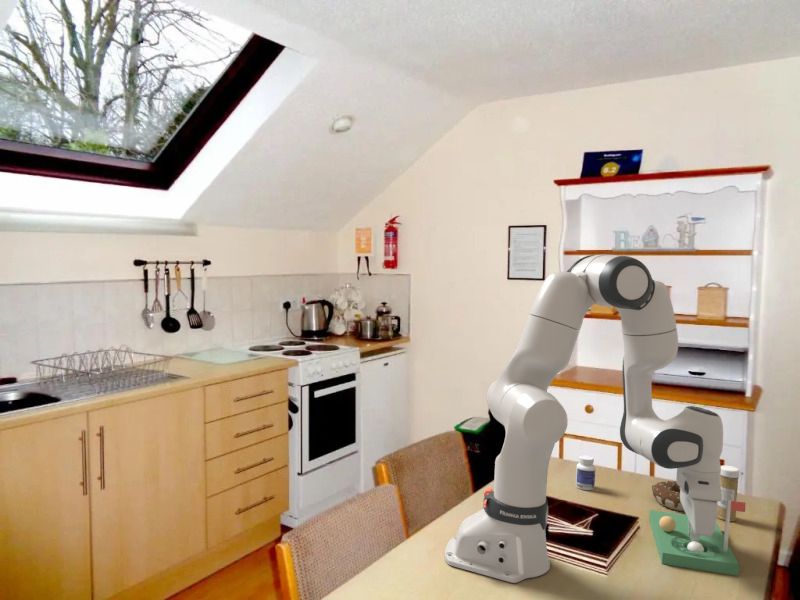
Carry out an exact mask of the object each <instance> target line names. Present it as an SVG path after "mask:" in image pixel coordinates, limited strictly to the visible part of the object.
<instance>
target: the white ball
mask: <svg viewBox="0 0 800 600" xmlns="http://www.w3.org/2000/svg"><path fill="white" fill-rule="evenodd" d="M687 549H688V550H691V551H694V552H700V553H703V552H704V548H703V546H702V545H701V544H700V543H699V542H696V541H692V542H690V543H689V544H688V545H687Z"/></svg>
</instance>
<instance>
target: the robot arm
mask: <svg viewBox="0 0 800 600" xmlns="http://www.w3.org/2000/svg"><path fill="white" fill-rule="evenodd" d="M594 305H598V306H600V307H607V308H608V307H609V308H615V309H616V310H617V311H618V314H619V317H620V320H621V331H622V338H623V339H622V340H623V358H622V359H623V360H622V390H623V393H622V395H623V414H622V418H621V423H620V426H619V437H620V440H621V442H622V444H623V446H624V447H625V448H626V449H627V450H629V451H631V452H632V453H635V454H637V455H640V456H642V457H643V458H645V460H648V461H650V462H651V463H653V464H656V465H657V466H659V467H661V468H664V469H668V470H672V469H673V470H674V469H676V480H675V481H676V483H677V484H678V485H679V486H680V487H681V489H680V502H681V504H682V506H683V508H684V511H685V512H684V514H685V515H687V517H688V526H689V530H688V534H689V536H690V539H691V540H692V541H699V537H700V536H707V537H711V536H712V535H713V533H714V530H715V525H716V523H717V519H718V517H717V511H718V501H721V498H722V493H721V488H720V475H721V466H722V465H721V461H720V460H721V459H720V458H721V456H722V453H723V448H724V425H723V420H722V417H721V416H720V415H719V414H718V413H716V412H714V411H711V410H709V409H707V408H706V409H705V408H703V407H700V406H699V407H698V406H694V405H690V406H685V407H684V408H683V410H682V411H681V412H679V413H678V414H677V415H675V416H673V417H672V418H669V419H666V420H665V419H662V418H660V417H659V416H658V414H657V413H656V412H655V410H654V409H653V395H652V393H653V392H652V377H653V375H654V373H655V372H656V371H658V370H661V369H665V367H667V366H669V365H671V363H672V362H673V361H674V360H675V359H676V357H677V355H678V351H679V335H678V327H677V321H676V316H675V310H674V308H673V304H672V299H671V297H670V294H669V292H668V289H667V287H666V285H664V284H663V283H662V282H660V281H658V280H655V279H653V278H652V275H651V272H650V270H649V269H648V268H647V266H646V265H645V263H643V262H642V261H640V260H638V259H637V258H634V257H631V256H629V255H628V256H627V255H615V254H610V253H607V254H604V253H602V254H597V255H595V254H592V255H586V256H583V257H581V258H579V259H578V260H576V261H575V262H574V263H573V264H572V265H571V266H570V268H569V269H567V271H564V270H563V271H554V272H552V273H550V274H549V275H548V276H546V277H545V280H544V281H543V283H542V285H540V288H539V290H538V291H537V294H536V296H535V297H534V300H533V302H532V305H531V307H530V311H529V312H528V313H529V314H528V316H527V318H526V321H525V325H524V327H523V330H522V332H521V336H520V339H519V341H518V344H517V346H516V348H515V351H514V353H513V354H512V356H511V358H510V359H509V361H508V363H507V364H506V366H505V367H504V370H503V371H502V373H501V374H500V376H499V377H498V378H497V379H495V380H494V381H493V382H492V383H490V386H489V387H488V390H487V392H486V403H487V407H488V409H489V412H490V413H491V415H492V416H493V419H495V420H496V421H497V422H498V423H500V424H501V425H502V426H503V427H504V430H505V437H504V442H503V445H502V448H501V450H500V453H499V454H498V455H497V456H496V458H495V461H494V464H495V465H494V475H493V476H494V479H493V481H494V482H493V489H492V487H487V488H486V489H484V493H483V497H484V498H483V504H482V505H483V508H481V509H480V510H478V511H476V512H475V513H472V514H470V515H468V516H467V517H466V518H465V519H464V520H463V521H462V522H461V523H460V526H459V528H458V530H457V533H456V535H455V536H453V537H452V538H450V540H449V541H448V543H447V544H446V546H445V550H444V560H445V562H446V563H447V564H448V565H449V566H452V567H455V568H459V569H462V570H464V571H465V570H466V571H468V572H469V571H470V572H473V573H476V574H479V575H484V576H487V577H490V578H494V579H498V580H501V581H505V582H507V583H513V584H516V583H518V582H519V583H520V582H521V581H524V580H526V579H530V578H536V577H540V576H542V575H544V574H546V573H547V572H548V571H549V570H550V568H551V562H550V559H549V554H548V548H547V547H548V546H547V537H546V528H547V525H548V520H549V519H548V517H549V505H548V499H547V485H548V475H549V474H548V471H549V470H548V469H549V464H550V460H551V457H552V454H553V452H554V451H553V450H554V447H555V445H556V443H558V442H559V441H561V439H562V438H563V436H564V434H565V433H566V431H567V429H568V421H569V419H568V414H567V411H566V409H565V408H564V406H563V405H562V404H561V403H560V401H559V400H558V399H557V398H556V397H555V396H554V394H552V393H550V392H548V389H549V387H550V385H551V384H552V382H553V381H554V379H555V378H556V377H557V375H558V374H559V373H561V372H562V371H563V370H564V369H566V368H567V366H568V365H569V363H570V360H571V358H572V354H573V352H574V348H575V346H576V342H577V340H578V337H579V334H580V331H581V329H582V326H583V322H584V321H583V320H584V317H585V316H586V314H587V312H588V311H589V309H591V307H592V306H594Z"/></svg>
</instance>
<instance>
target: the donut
mask: <svg viewBox="0 0 800 600" xmlns="http://www.w3.org/2000/svg"><path fill="white" fill-rule="evenodd" d="M680 489H681V487H680V486H679V485H678V484H677V483H676V480H665V481H660V482H657V483H655V484H654V485H651V491H652V495H653V497H654V499H655V501H656V502H657V503H658V504H660V506H663V507H665V508H668V509H671V510H674V511H678V512H682V513H683V512H684V513H685V511H684V508H683V506H682V504H681V502H680Z"/></svg>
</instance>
